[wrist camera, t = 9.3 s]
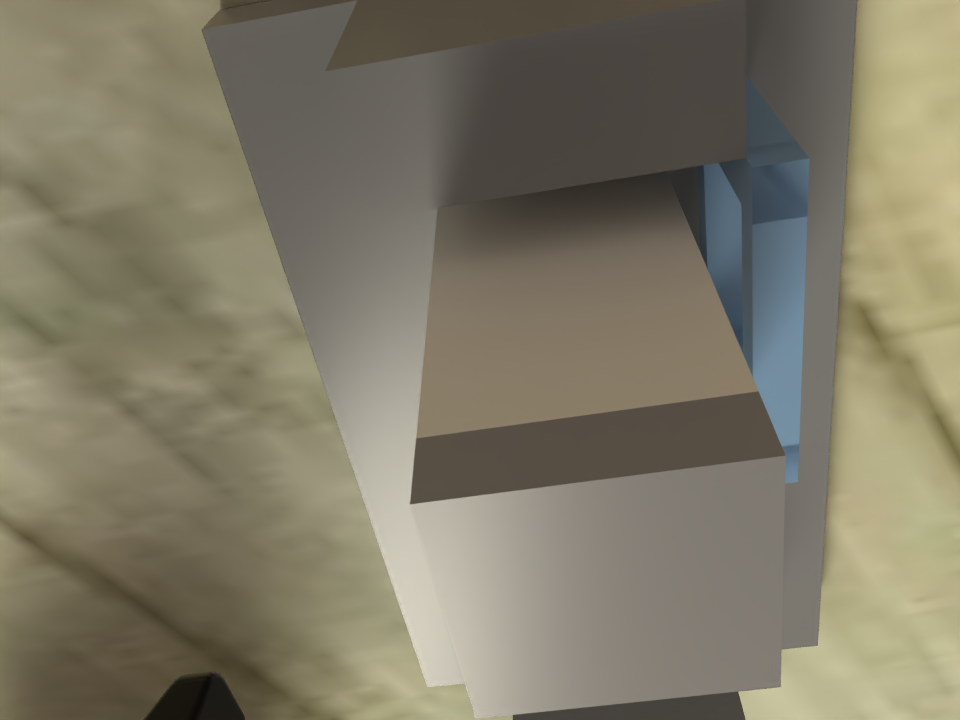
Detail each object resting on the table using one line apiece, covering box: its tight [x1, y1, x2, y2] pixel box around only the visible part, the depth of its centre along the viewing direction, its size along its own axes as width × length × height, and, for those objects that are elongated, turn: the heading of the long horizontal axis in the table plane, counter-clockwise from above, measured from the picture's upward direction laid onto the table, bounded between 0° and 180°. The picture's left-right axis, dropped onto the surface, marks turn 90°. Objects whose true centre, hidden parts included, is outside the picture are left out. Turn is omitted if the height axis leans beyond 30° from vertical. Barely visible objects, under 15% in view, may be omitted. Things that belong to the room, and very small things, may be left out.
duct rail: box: [202, 0, 857, 720], centre depth 17 cm, size 17×10×5 cm, turn 10°
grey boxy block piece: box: [410, 171, 786, 719], centre depth 13 cm, size 4×4×8 cm
